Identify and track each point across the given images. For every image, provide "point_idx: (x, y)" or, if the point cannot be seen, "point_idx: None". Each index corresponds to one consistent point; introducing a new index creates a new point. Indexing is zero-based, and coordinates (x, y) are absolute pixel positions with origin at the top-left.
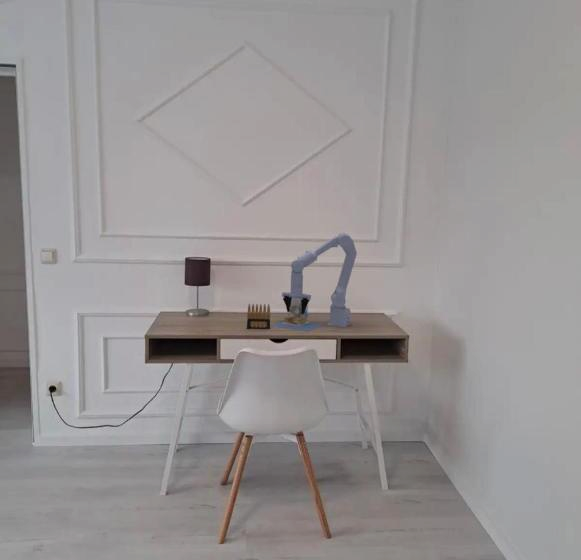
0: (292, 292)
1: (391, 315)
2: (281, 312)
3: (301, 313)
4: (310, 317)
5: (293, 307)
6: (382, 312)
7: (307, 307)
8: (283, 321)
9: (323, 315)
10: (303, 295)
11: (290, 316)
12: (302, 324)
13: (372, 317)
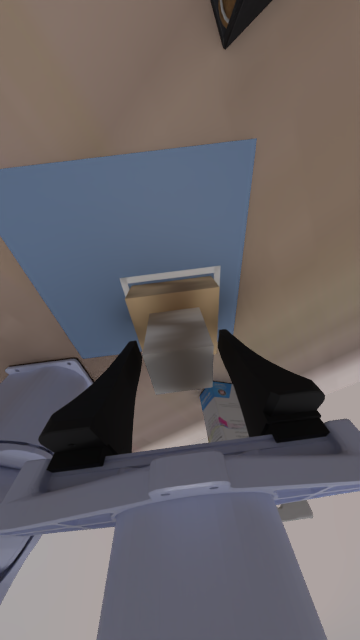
0: (232, 562)
1: None
2: None
3: (135, 341)
4: (187, 394)
5: (182, 348)
6: None
7: (205, 424)
8: (229, 301)
9: (173, 418)
10: (52, 520)
11: (194, 309)
12: None
13: None
